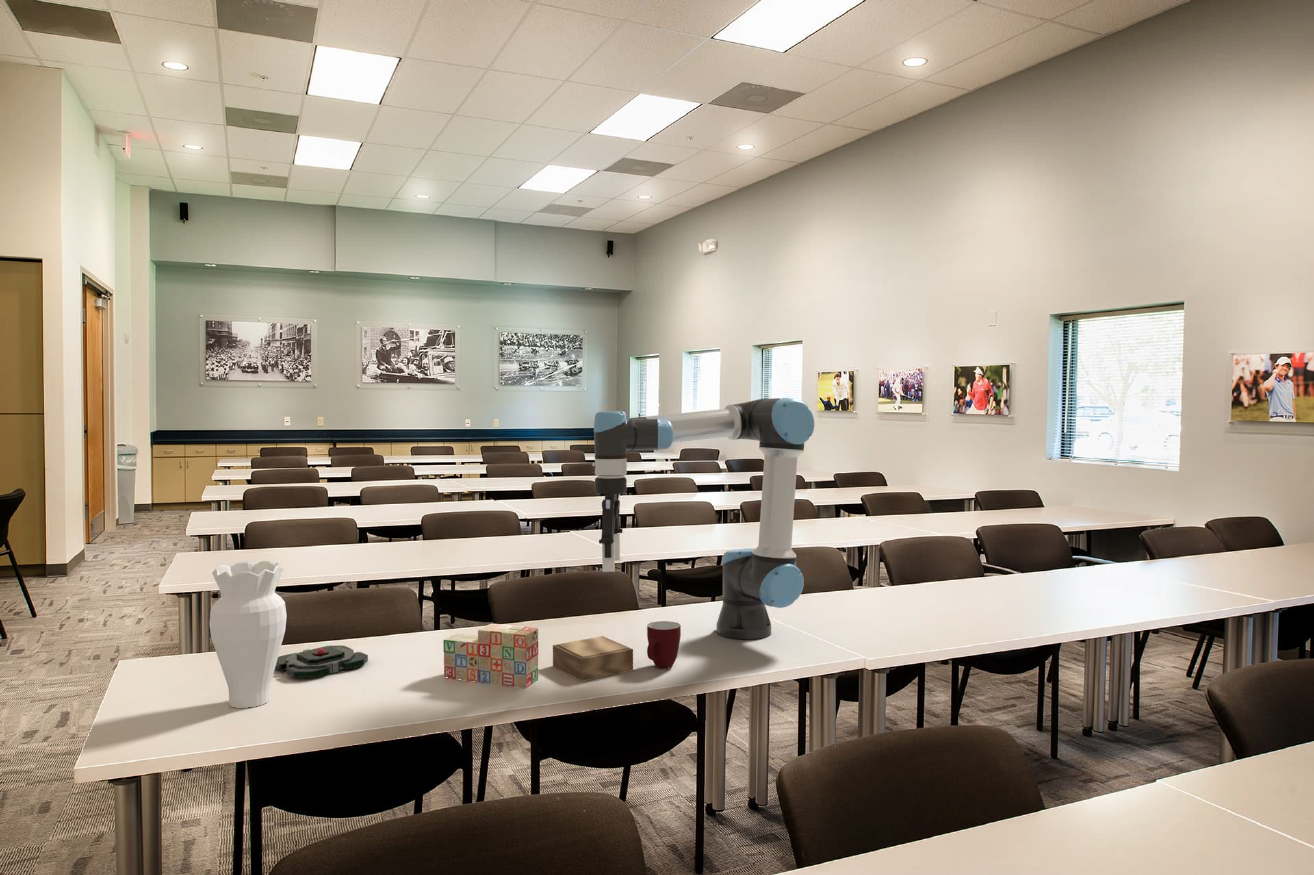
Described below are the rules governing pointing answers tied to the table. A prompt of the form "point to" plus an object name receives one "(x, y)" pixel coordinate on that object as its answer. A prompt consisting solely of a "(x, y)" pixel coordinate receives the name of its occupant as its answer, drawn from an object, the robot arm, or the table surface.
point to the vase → (248, 629)
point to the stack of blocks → (494, 656)
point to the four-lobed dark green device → (320, 661)
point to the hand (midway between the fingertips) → (611, 565)
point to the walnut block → (592, 658)
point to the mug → (663, 643)
